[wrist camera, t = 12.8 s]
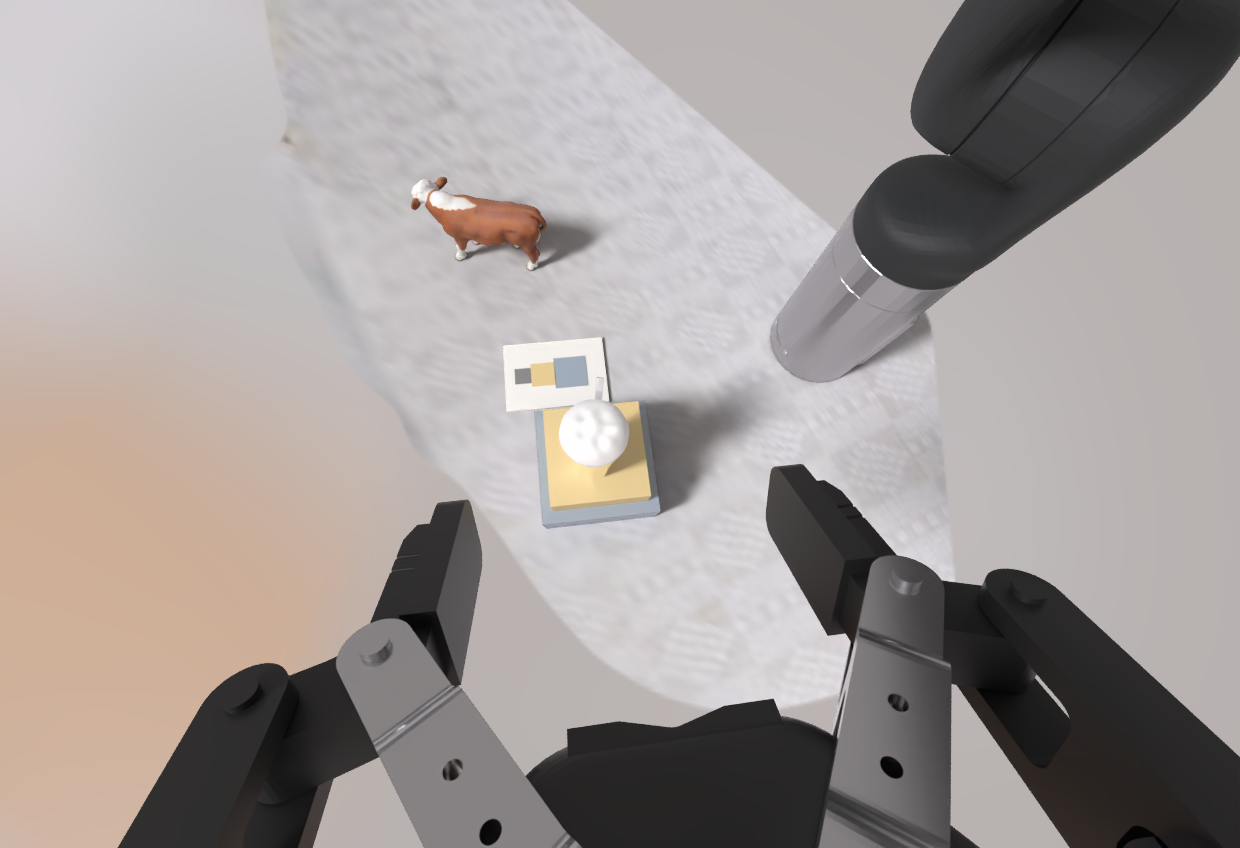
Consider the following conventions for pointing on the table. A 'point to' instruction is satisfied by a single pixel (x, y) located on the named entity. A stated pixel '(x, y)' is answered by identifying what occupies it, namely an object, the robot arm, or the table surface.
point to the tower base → (595, 512)
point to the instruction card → (553, 373)
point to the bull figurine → (481, 219)
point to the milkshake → (594, 434)
